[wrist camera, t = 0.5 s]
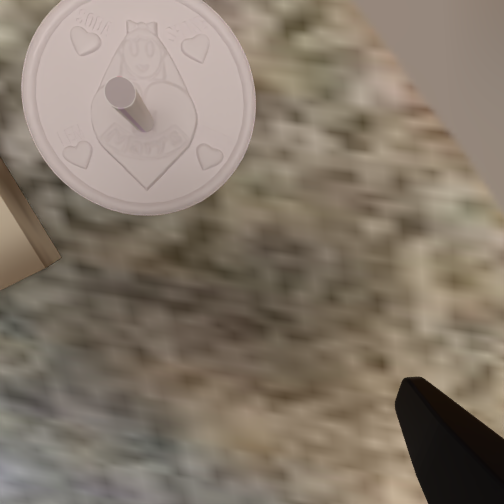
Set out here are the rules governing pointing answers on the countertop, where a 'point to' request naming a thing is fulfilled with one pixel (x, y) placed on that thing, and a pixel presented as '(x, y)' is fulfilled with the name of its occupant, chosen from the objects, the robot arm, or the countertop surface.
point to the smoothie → (139, 101)
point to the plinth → (20, 235)
